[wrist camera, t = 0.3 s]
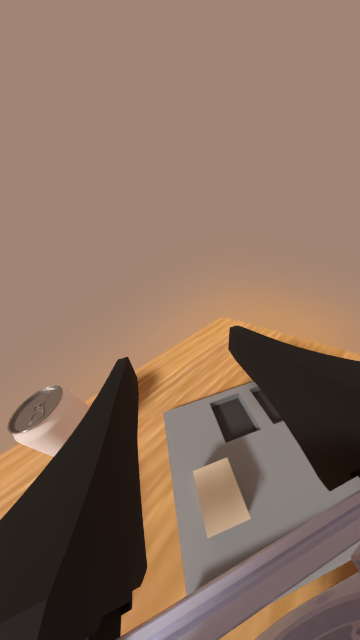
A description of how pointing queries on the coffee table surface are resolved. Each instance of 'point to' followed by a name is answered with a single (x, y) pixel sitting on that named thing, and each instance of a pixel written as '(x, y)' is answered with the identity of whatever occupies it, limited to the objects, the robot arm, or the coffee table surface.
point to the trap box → (243, 481)
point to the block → (219, 497)
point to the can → (47, 419)
